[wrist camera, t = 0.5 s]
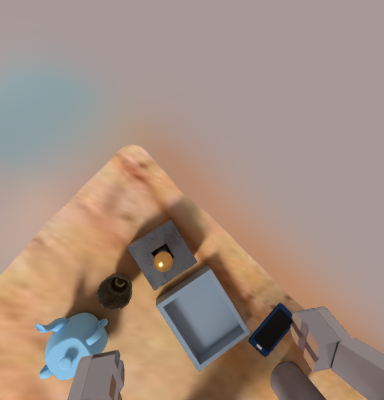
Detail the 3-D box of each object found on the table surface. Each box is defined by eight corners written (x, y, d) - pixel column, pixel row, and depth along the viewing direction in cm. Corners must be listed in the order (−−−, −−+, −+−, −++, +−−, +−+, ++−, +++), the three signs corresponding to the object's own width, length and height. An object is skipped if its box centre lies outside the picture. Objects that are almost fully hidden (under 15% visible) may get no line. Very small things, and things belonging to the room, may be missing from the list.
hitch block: (193, 256, 59) (197, 262, 53) (154, 281, 57) (154, 290, 51) (170, 218, 58) (171, 219, 52) (130, 242, 57) (126, 247, 51)
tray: (244, 324, 61) (250, 333, 57) (196, 360, 59) (198, 371, 55) (207, 264, 59) (211, 268, 55) (156, 298, 57) (156, 305, 53)
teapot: (102, 360, 56) (90, 399, 45) (41, 353, 53) (13, 392, 42) (115, 310, 56) (107, 336, 45) (56, 301, 54) (32, 326, 43)
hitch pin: (173, 251, 58) (176, 264, 46) (160, 260, 58) (160, 275, 46) (165, 239, 58) (166, 248, 46) (151, 247, 57) (149, 259, 45)
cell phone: (246, 339, 61) (247, 341, 60) (279, 301, 63) (280, 302, 62) (264, 356, 62) (265, 358, 61) (296, 318, 63) (298, 319, 63)
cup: (134, 264, 57) (130, 274, 49) (137, 292, 57) (133, 307, 49) (104, 268, 56) (94, 279, 48) (107, 297, 56) (98, 313, 48)
